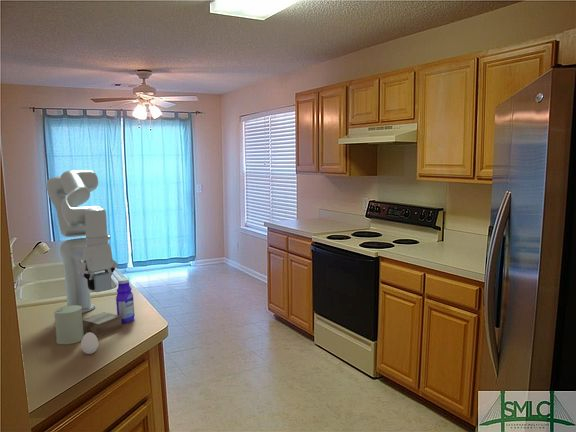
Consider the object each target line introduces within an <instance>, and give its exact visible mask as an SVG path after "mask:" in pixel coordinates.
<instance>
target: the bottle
mask: <svg viewBox="0 0 576 432" xmlns="http://www.w3.org/2000/svg"><path fill="white" fill-rule="evenodd" d="M132 290H133V289H132V287H131V284H130V279H129V278H127V277H123V278H118V280H117V289H116V296H115V303H116V315H119V316H121V324H126V323H129V322H131V321H133V320H134V319H135V304H134V293H133V292H132Z"/></svg>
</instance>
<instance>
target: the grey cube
mask: <svg viewBox="0 0 576 432" xmlns="http://www.w3.org/2000/svg"><path fill="white" fill-rule="evenodd" d="M93 280H94V290H90V289H89V288H88V289H89V290H90V292H91V291H92V292H95V293H100V292H104V291H108V290H112V288H113V287H112V275H111V273H108V272H105V271H104V270H102V271H97V272H94V275H93Z"/></svg>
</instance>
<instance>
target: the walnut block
mask: <svg viewBox="0 0 576 432" xmlns="http://www.w3.org/2000/svg"><path fill="white" fill-rule="evenodd" d="M82 321H83V333H85V334H86V333H89V332H91V333H93V334H95V335H96V337H102V336H104V335H107V334H109V333H112V332H114V331H117V330H119V329H122V328H123V326H122V324H123V323H121V316H119V315H117V314H114V313H111V312H110V313H109V312H106V311H104V312H100V313H97V314H94V315H91V316H89V317H86V318H82Z"/></svg>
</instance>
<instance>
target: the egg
mask: <svg viewBox="0 0 576 432" xmlns="http://www.w3.org/2000/svg"><path fill="white" fill-rule="evenodd" d="M80 344H81V350H82V351H83V352H84V353H85V354H88V355H92V354H94V353H95V352H96V351H97V349H98V347H99V339H98V336H96V335H95V334H93V333H91V332H89V333H86V332H85V334H84V337H83V338H82V340H81V342H80Z"/></svg>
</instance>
